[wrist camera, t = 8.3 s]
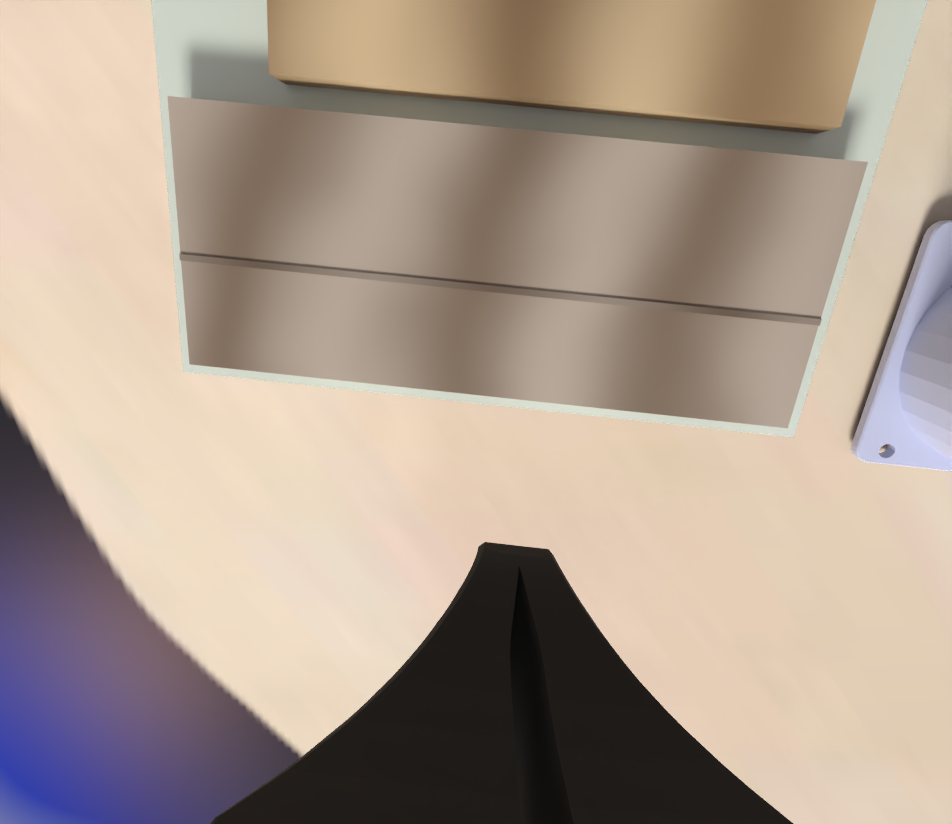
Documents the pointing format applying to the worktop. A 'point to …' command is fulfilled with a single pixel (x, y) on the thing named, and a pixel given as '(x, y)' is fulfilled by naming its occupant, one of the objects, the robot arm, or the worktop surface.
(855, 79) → the underlay
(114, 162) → the worktop surface
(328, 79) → the plank
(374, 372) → the floor board
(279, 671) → the worktop surface
